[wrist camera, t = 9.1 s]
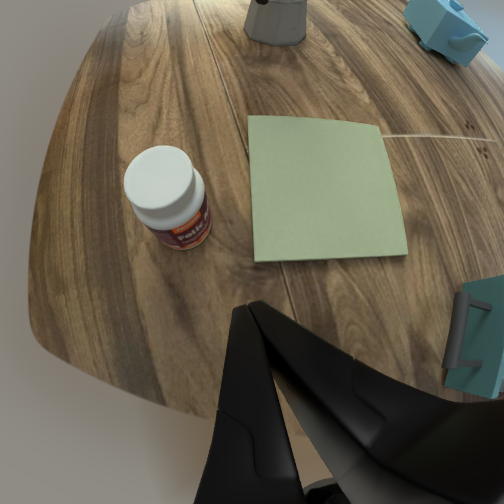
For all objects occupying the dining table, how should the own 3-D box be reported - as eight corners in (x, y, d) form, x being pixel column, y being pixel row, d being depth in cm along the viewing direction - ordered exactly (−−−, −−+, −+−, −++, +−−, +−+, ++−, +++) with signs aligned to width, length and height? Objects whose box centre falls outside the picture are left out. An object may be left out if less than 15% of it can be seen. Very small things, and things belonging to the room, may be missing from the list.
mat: (405, 255, 22) (408, 254, 22) (254, 262, 21) (254, 261, 21) (376, 129, 25) (378, 126, 24) (247, 119, 24) (247, 115, 24)
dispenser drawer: (406, 385, 19) (456, 403, 12) (429, 271, 21) (480, 257, 14) (503, 382, 19) (540, 388, 12) (517, 302, 21) (554, 297, 14)
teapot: (395, 14, 34) (415, -27, 20) (434, 32, 34) (456, -4, 21) (433, 71, 29) (469, 20, 16) (474, 92, 30) (510, 53, 16)
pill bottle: (196, 260, 21) (171, 231, 13) (146, 235, 21) (102, 197, 13) (222, 209, 22) (215, 155, 14) (174, 187, 22) (146, 130, 14)
